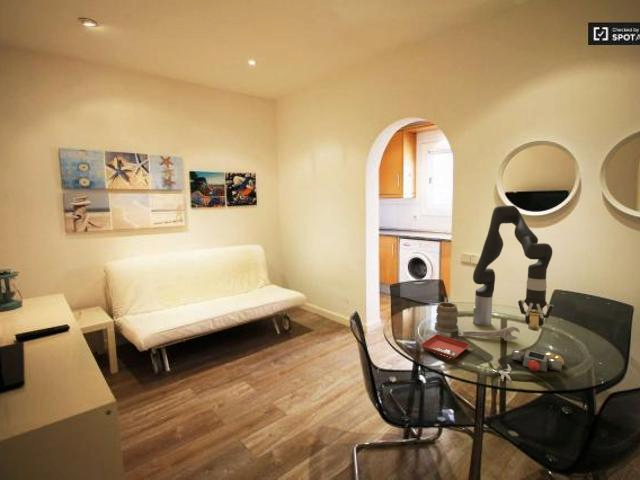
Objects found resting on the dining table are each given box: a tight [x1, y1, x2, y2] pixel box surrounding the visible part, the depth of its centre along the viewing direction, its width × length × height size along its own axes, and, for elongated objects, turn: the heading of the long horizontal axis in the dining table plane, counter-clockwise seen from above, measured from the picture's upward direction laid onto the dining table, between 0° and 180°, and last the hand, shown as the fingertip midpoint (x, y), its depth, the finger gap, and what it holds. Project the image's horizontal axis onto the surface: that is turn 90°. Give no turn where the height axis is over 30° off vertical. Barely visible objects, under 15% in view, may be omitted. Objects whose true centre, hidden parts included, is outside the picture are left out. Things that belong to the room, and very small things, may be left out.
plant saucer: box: [420, 333, 471, 359], centre depth 176 cm, size 18×18×3 cm
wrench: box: [457, 325, 521, 342], centre depth 187 cm, size 8×2×30 cm
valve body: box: [511, 349, 563, 373], centre depth 158 cm, size 19×13×5 cm
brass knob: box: [527, 310, 541, 332], centre depth 158 cm, size 5×5×8 cm
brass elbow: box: [543, 352, 565, 367], centre depth 161 cm, size 7×4×6 cm
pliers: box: [485, 362, 512, 383], centre depth 154 cm, size 10×2×15 cm
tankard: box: [434, 296, 459, 334], centre depth 205 cm, size 20×13×15 cm, turn 161°
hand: (534, 324), depth 158 cm, fingers closed on brass knob, 4 cm apart
